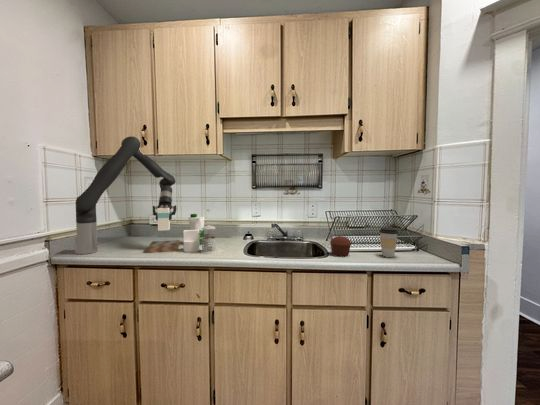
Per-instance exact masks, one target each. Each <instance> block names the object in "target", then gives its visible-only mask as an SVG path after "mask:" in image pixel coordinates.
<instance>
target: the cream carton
mask: <svg viewBox="0 0 540 405" xmlns="http://www.w3.org/2000/svg"><path fill="white" fill-rule="evenodd" d="M156 211H158V213H157V214H158V221H157V231H158V232H159V231H160V232H161V231H170V229H171V220H169V214H170V213H169V208H167V207H163V208H157V210H156Z"/></svg>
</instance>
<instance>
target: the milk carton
mask: <svg viewBox="0 0 540 405" xmlns="http://www.w3.org/2000/svg"><path fill="white" fill-rule="evenodd" d="M188 227H189V229H188V230H199V232H200V231H202V228H203V227H205V216H198V214H197V213H191V214H190V217H188ZM203 232H204V233H202V232H201V233H199V246H202V243H201V242H202V241H201V240H202V238H203V239H204V237H203V235H205V230H204V231H203ZM200 239H201V240H200ZM203 242H204V241H203Z"/></svg>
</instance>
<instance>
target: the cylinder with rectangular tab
mask: <svg viewBox="0 0 540 405" xmlns="http://www.w3.org/2000/svg"><path fill="white" fill-rule="evenodd" d="M182 232H183V252H184V253H185V252H186V253H195V252H199V251H200V245H199V239H198V237H199V235H198V234H199V230H189V229H184V230H183V231H182Z"/></svg>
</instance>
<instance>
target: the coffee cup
mask: <svg viewBox="0 0 540 405" xmlns="http://www.w3.org/2000/svg"><path fill="white" fill-rule="evenodd" d="M378 233H380V234H379V236H380V237H379V238H380V239H379V240H380V248H381V256H382V255H383V256H382V257H384V256H385V257H384V258H389V257H391V258H395V253H396V248H397V241H398V240H397V239H398V234H399V231H398V229H397V228H392V227H381V228H380V229H379V231H378Z"/></svg>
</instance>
